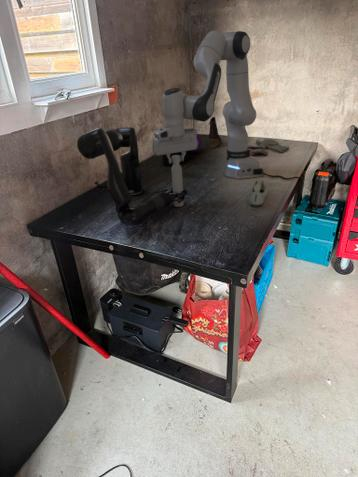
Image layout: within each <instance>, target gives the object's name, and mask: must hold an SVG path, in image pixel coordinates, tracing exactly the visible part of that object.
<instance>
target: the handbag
mask: <svg viewBox="0 0 358 477" xmlns="http://www.w3.org/2000/svg"><path fill="white" fill-rule="evenodd" d="M173 155H180V157H181V155H182V153H181V152H177V153H171V154H170V156H169V157H170V158H172V156H173ZM189 156H190V155H189V153H188V151H186V154H185V156H184V161H182V162H179V164H181V163H183V162H185V161H186V160H188V159H189ZM173 164H174V163H169V159H168V158H167V156H166V154H165V155H162V165H163V166H169V167H172V166H173Z"/></svg>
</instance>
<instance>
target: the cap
mask: <svg viewBox="0 0 358 477" xmlns="http://www.w3.org/2000/svg"><path fill="white" fill-rule="evenodd" d="M172 159H173V163H179V162H180V155H173V156H172ZM179 164H180V163H179Z"/></svg>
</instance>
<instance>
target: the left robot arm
mask: <svg viewBox="0 0 358 477" xmlns="http://www.w3.org/2000/svg"><path fill="white" fill-rule="evenodd" d="M76 148H77V150H78V152H79V153H80V155H81V156H82V157H84V159H88V160H92V159H96V158H98V157H101V156H103V155H104V156H105V158H106V162H107V179H106V181H107V182H106V183H107V184H104V185H103V184H100V183H99V182H98V181H95V182H94V184H95V185H98V187H101V188H106V187H107V190H108V192H109V195H110V196H111V198H112V200H113V202H114V204H115V209H116V214H117V217H118V218H117V219H118V220H119V221H120V223H121V224H122V225H124V226H127V227H128V226H140V225H142V224H143V223H144V222H146V221H147V220H148V219H149V217H151V216H154V215H155V214H158V213H160V212H162V211H163V210H166V209H167V208H169V207H170V206H171V204H172V203H174V202H175V201H178V203H181V202H182V201H183V200H184V201H185V199H186V195H187V194H188V191H187V189H183V191H181V192H178V193H177V192H175V193H173V188H164V189H162V190H159V191H157V192H156V193H155V194H153V195H151V196H150V197H148V198H147V199H145V200H143V201H141V202H140V203H139V204H137V206H136V207H131V208H130V203H131V202H132V199H133V198H132V196H138V195H140V194H142V193H143V192H144V190H143V184H142V183H143V182H142V175H141V166H140V157H139V147H138V134H137V129H136V128H135V127H133V126H132V127H130V126H129V127H127V126H126V127H117V128H115V129H113V128H109V129H103V128H101V127H97V128H94V129H93V130H90V131H88V132H85V133H82V134H81V135H80V136H78V138H77V141H76ZM121 148H129V150H128V151H126V152H124V153H122V154H121V155H120V156H119V160H120V166H119V162H118V159H117V157H116V151H119V150H120V149H121ZM120 167H121V168H120ZM179 194H180V196H179Z"/></svg>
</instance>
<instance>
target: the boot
mask: <svg viewBox="0 0 358 477" xmlns="http://www.w3.org/2000/svg"><path fill="white" fill-rule="evenodd" d="M209 119H210V120H209V123H208V125H209V133H208V141H209V145H210V148H211V149H215V148H216V147H218V146H219V145H221V144H222V138H221V136H220V134H219V130H218V126H217V120H216V117H215V116H211V117H210V118H209Z"/></svg>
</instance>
